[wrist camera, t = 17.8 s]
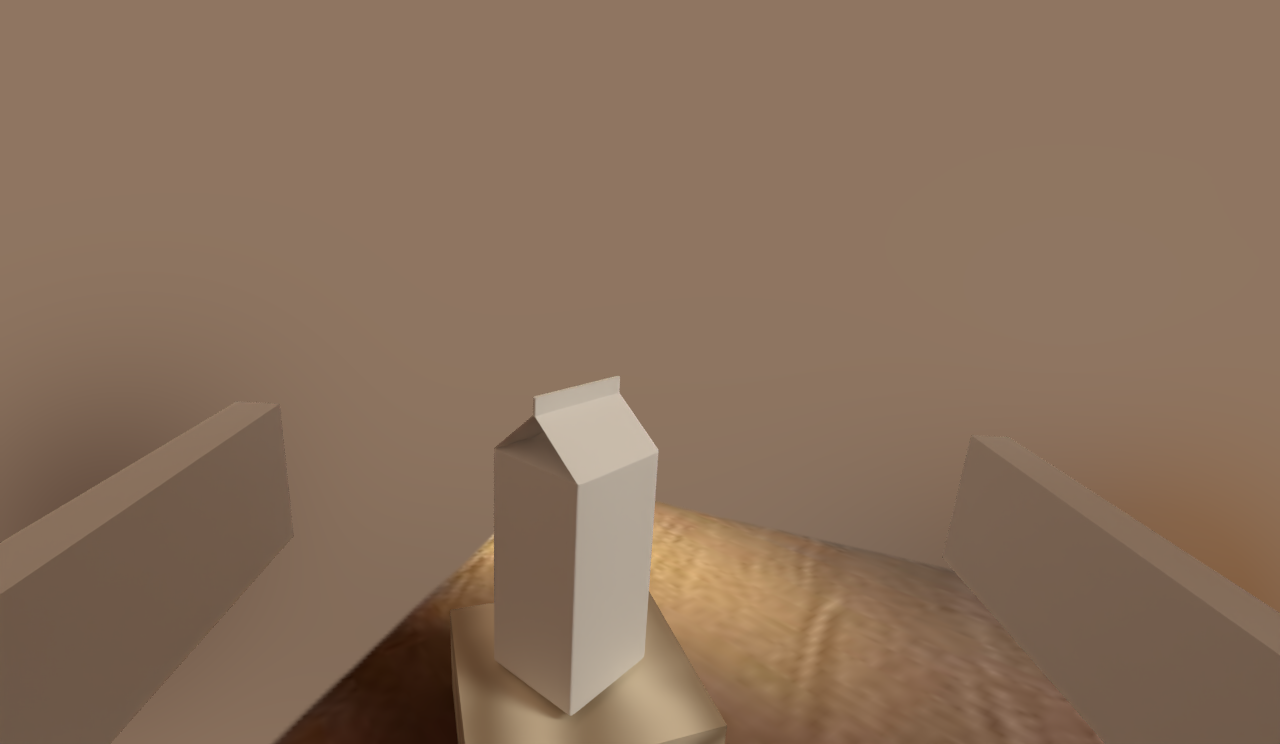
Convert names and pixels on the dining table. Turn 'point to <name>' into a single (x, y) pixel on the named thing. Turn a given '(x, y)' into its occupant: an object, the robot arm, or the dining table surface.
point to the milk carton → (573, 543)
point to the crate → (606, 726)
